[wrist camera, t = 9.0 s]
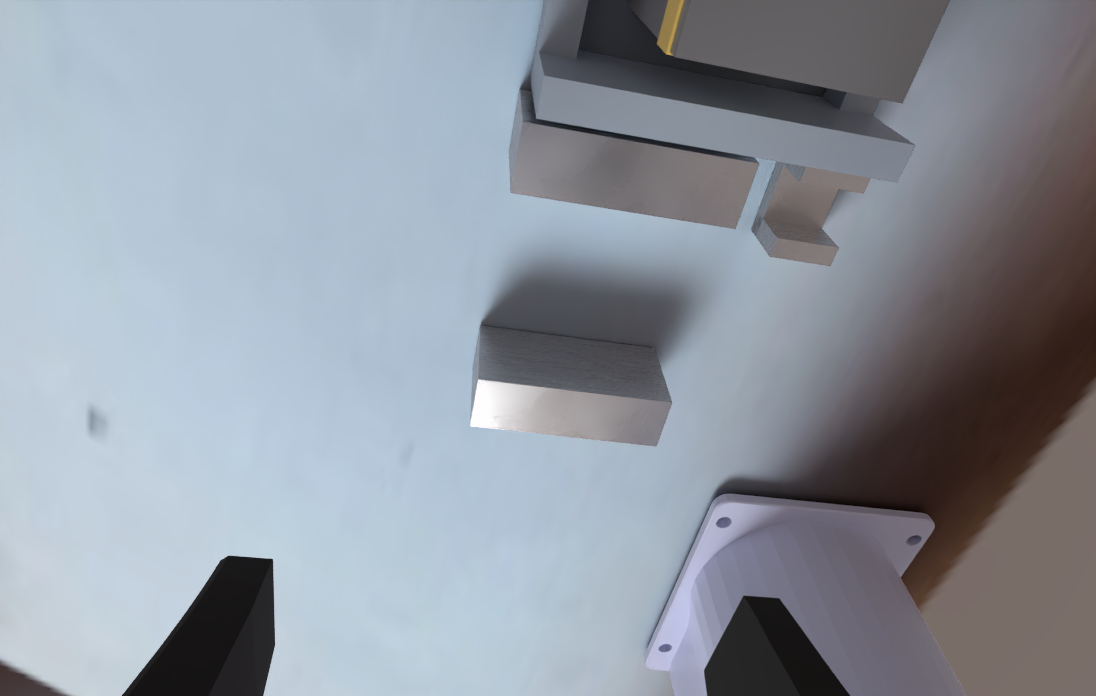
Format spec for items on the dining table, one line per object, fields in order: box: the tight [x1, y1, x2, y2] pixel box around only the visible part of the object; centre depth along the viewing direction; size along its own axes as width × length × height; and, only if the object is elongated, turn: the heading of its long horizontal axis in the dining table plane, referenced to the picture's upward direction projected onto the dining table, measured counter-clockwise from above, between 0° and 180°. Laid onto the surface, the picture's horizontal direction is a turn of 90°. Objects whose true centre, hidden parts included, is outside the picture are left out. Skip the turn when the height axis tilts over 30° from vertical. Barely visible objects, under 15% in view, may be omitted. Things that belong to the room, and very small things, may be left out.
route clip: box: [752, 161, 870, 266], centre depth 18 cm, size 2×2×2 cm
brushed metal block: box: [470, 89, 759, 446], centre depth 18 cm, size 8×5×2 cm, turn 169°
